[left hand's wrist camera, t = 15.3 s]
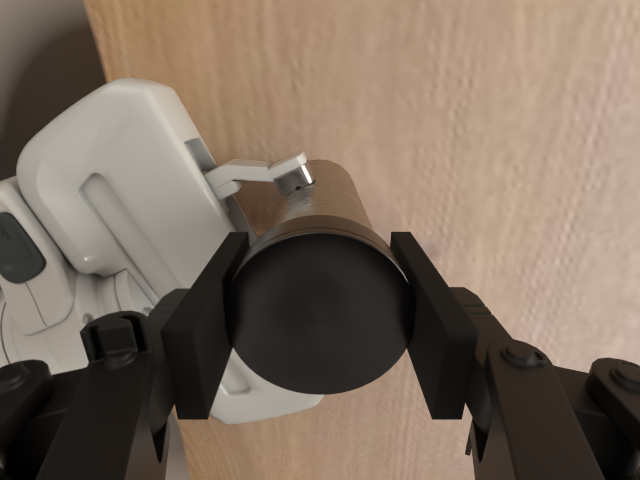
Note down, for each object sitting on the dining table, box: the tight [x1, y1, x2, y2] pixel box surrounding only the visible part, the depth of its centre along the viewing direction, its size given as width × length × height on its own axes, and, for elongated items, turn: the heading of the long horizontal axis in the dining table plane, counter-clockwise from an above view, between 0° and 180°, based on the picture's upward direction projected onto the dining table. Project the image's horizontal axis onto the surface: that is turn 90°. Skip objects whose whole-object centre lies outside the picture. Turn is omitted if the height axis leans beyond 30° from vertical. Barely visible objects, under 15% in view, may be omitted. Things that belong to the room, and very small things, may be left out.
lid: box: [224, 215, 416, 395], centre depth 11 cm, size 6×6×2 cm
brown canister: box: [266, 160, 374, 232], centre depth 18 cm, size 5×5×15 cm
